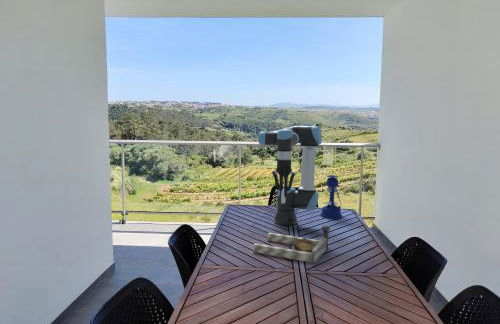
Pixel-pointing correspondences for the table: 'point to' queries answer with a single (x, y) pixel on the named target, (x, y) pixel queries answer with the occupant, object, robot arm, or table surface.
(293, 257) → the bay
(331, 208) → the lantern
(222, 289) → the table surface
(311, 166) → the robot arm
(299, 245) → the stone
